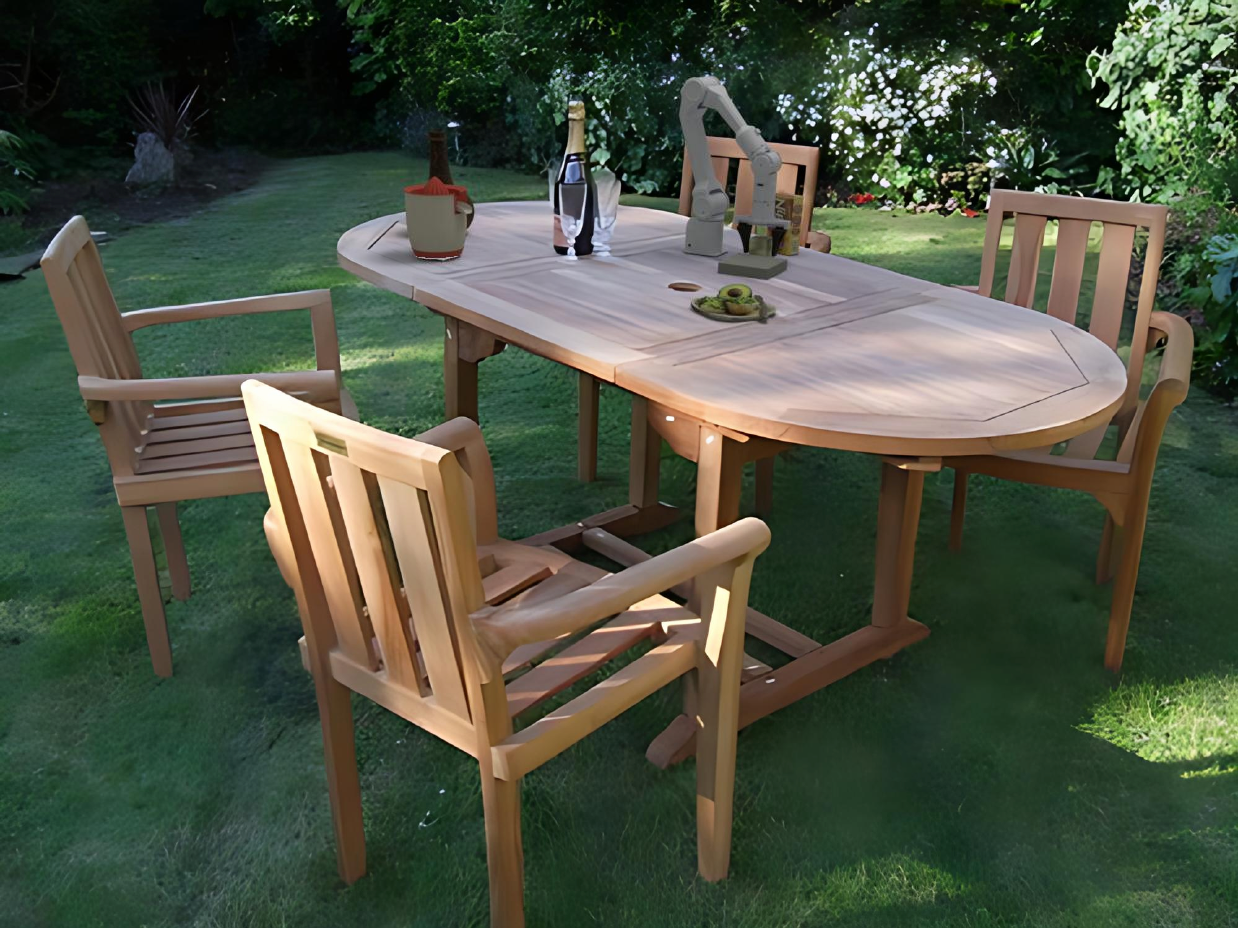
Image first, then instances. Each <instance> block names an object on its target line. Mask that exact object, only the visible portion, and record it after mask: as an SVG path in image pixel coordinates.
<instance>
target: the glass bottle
mask: <svg viewBox="0 0 1238 928" xmlns="http://www.w3.org/2000/svg"><path fill="white" fill-rule="evenodd" d="M428 134H429V136H427V137H426V138H425V139H426V140H427V141H429V175H428V176H429V177H428V181H429V180H430V179H431V178H432V177H437V178H438V179H439V180H440V181H441V182H442V183H443V184H445V185H455V184H454V181H453V178H452V175H451V170H450V165H449V159H448V158H449V157H448V149H447V138H448V136H447V135H446V130H443V129H430V130H429V131H428ZM467 204H468V205H470V206H471V208H472V213H470V214H466V215H467V230H468V229H469V228H470V226H471V225H472V223H473V221H474V217H475V206H474V203H473V200H472V199H471V197H470V196H468V195H467Z"/></svg>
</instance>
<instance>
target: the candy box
mask: <svg viewBox="0 0 1238 928" xmlns="http://www.w3.org/2000/svg"><path fill="white" fill-rule="evenodd" d="M804 198H805V197H804V195H800V194H799V195H798V194H793V193H788V192H782V191H776V199H775V212H774V218H778V219H783V220H788V221H791V226H790V229H788V230H787V232H786V234H785V235H784V237H783V239H782V241H781V244H780V246H779V249H778V252H777V254H781V255H785V256H793V255H794V256H795V255H799V254H800V253H799V252H800V242H801V230H802V220H803V219H802V217H803V208H804ZM773 229H775V227H766V232H765V233H766V234H765V236H768V237H772V232H771V231H772V230H773Z"/></svg>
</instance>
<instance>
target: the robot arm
mask: <svg viewBox="0 0 1238 928" xmlns="http://www.w3.org/2000/svg"><path fill="white" fill-rule="evenodd" d="M680 96H681V101H680V107H679V115H678V116H679V117H678V118H679V121H680V126H681V129H682V133H683V138H684V141H685V146H686V150H687V155H688V158H689V162H690V166H691V171H692V175H693V179H694V183H695V185H694V187H693V189H692V191H691V196H692V203H691V208H692V212H693V214H694V216H691V217H690V218H688V220H687V221H686V225H685V241H684V242H685V244H684V245H685V246H684V250H683V253H686V254H687V253H688V254H694V255H700V256H708V257H709V256H710V257H718V256H721V255H723V254H725V253H727V252H729V250H728V249H725V248H723V243H724V241H723V240H724V225H725V223H724V222H725V214H726V213H727V212H728V210H729V208H730V198H729V197H728V195H727V194H726V192H725V190H724V187H723V184H722V183H721V182H720V181H719V180H718V179H717V177H716V173H715V169H714V165H713V161H712V156H711V152H710V147H709V143H708V139H707V135H706V131H705V127H704V122H703V116H704V115H705V113H706V111H707V110H708V109H713V110H716V111H717V113H719V115H720V116H721V117H722V119H724V121H725V122H726V123H727V124H728V126H729V127H730V128H731V129H732V131H734V133H735V142H736V144H737V145H738V147H739V148H740V150H741V151H742V152H743V154H744V155H745V157H746V158H747V159H748V160H749V162H751V163H750V165H749V167H750V170H751V172H752V174H753V188H752V203H751V204H752V205H751V215H747V214H745V215H743V214H737V215H734V224H737V226H736V231H737V232H738V235H739V238H740V239H741V240H740V241H741V244H742V248H743V249H742V250H743V254H749V242H750V238H751V237H752V236H751V235H752V229H753V226H760V227H766V228H767V227H775V229H773V230H772V231H771V232H772V251H771V257H773V258H776V257H777V255H778V253H777V252H778V249H779V246H780V244H781V241H782V239H783V237H784V235H785V234H786V232H787V230H788V229H790V226H791V221H788V220H783V219H778V218H774V212H775V199H776V192H777V186H778V185H777V184H778V183H777V182H778V172H779V171H780V170H781V168H782V165H783V160H782V156H781V155H780V153H779V152H778V151H777V150H774V149H772V147H771V146H770V144H769V145H768V144H767V142H766V141H765V139H764V138H763V137H762V135H761V133H762V131H761V130H760V129H759V128H756V127H755V126H753V125H748V124H747V123H746V121H745V120H744V118H743V117H742V115H741V113H740V112H739V110H738V108H737V107H736V106H735V104H734V103H733V100H732V99H731V98H730V96H729V94H728V92H727V89H726V87H725V86H724V85H723V84H722V83H721V82H720V80H719V78H718V77H716V76H714V75H708V76H701V77H694V76H693V77H691V78H688V79H686V81H685V83H684V85H683V86H682V87H681V88H680Z"/></svg>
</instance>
